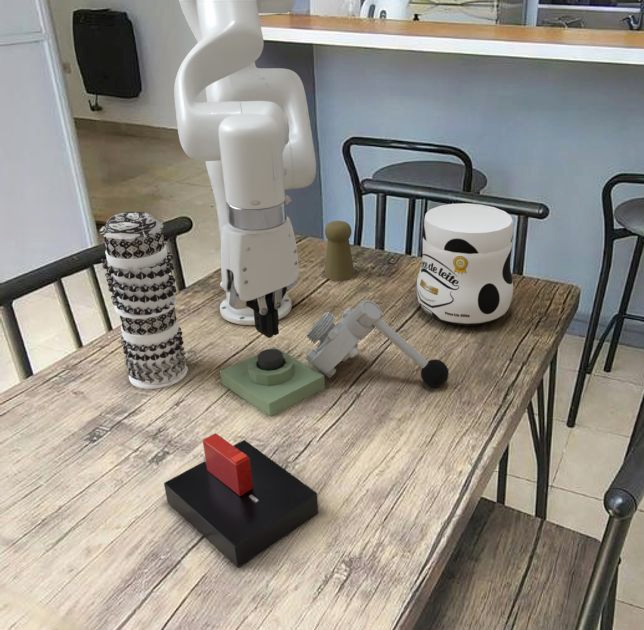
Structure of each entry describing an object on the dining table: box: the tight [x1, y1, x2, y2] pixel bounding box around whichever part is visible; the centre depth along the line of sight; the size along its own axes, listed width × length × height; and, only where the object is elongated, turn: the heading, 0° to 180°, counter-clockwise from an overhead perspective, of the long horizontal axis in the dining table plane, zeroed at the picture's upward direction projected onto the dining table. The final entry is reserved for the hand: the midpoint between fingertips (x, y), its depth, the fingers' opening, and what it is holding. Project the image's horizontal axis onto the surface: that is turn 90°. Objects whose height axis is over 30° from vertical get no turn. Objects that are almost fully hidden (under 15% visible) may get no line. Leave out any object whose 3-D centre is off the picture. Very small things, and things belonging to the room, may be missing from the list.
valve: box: [304, 299, 450, 388], centre depth 103 cm, size 10×20×15 cm
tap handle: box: [202, 432, 253, 496], centre depth 78 cm, size 6×2×5 cm, turn 49°
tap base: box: [163, 439, 319, 568], centre depth 78 cm, size 14×11×3 cm
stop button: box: [257, 348, 284, 371], centre depth 99 cm, size 4×4×2 cm
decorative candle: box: [99, 211, 189, 390], centre depth 98 cm, size 9×9×25 cm
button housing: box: [219, 346, 326, 417], centre depth 100 cm, size 12×10×4 cm
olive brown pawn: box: [324, 220, 355, 282], centre depth 135 cm, size 6×6×11 cm
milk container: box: [415, 202, 514, 327], centre depth 120 cm, size 17×17×18 cm
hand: (267, 332), depth 98 cm, fingers closed
